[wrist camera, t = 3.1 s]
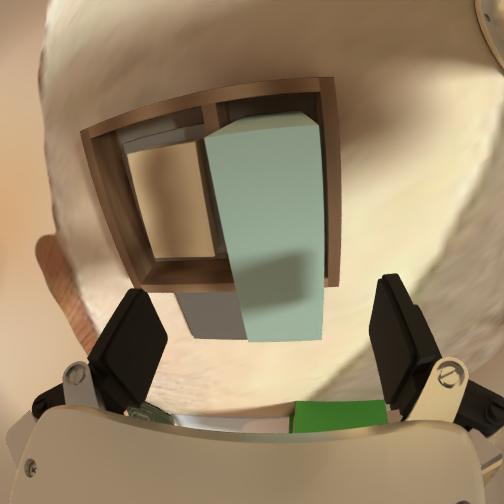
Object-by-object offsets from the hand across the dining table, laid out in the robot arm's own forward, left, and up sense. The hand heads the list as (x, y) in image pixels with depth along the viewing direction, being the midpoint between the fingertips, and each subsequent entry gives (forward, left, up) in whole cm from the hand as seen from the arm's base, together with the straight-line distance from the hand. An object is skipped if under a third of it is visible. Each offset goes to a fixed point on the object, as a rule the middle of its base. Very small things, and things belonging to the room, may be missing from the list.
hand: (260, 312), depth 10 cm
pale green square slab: (-1, 0, -15) cm, 15 cm away
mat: (+4, +15, -15) cm, 21 cm away
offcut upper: (+8, 0, -14) cm, 16 cm away
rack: (+5, 0, -15) cm, 16 cm away
